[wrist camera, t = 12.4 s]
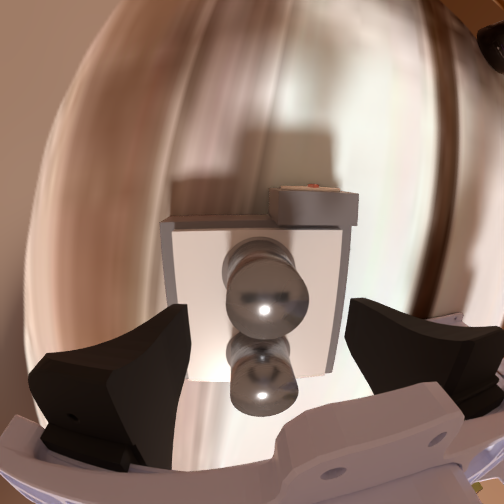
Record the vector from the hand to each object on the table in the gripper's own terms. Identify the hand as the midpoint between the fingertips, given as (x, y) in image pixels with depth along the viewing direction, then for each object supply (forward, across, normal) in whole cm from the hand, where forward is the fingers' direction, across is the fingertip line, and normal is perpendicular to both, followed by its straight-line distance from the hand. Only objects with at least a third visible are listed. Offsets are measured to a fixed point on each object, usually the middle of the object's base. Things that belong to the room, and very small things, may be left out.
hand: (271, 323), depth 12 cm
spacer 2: (+6, 0, +6) cm, 9 cm away
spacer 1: (+6, 0, 0) cm, 7 cm away
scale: (+10, 0, +2) cm, 11 cm away
